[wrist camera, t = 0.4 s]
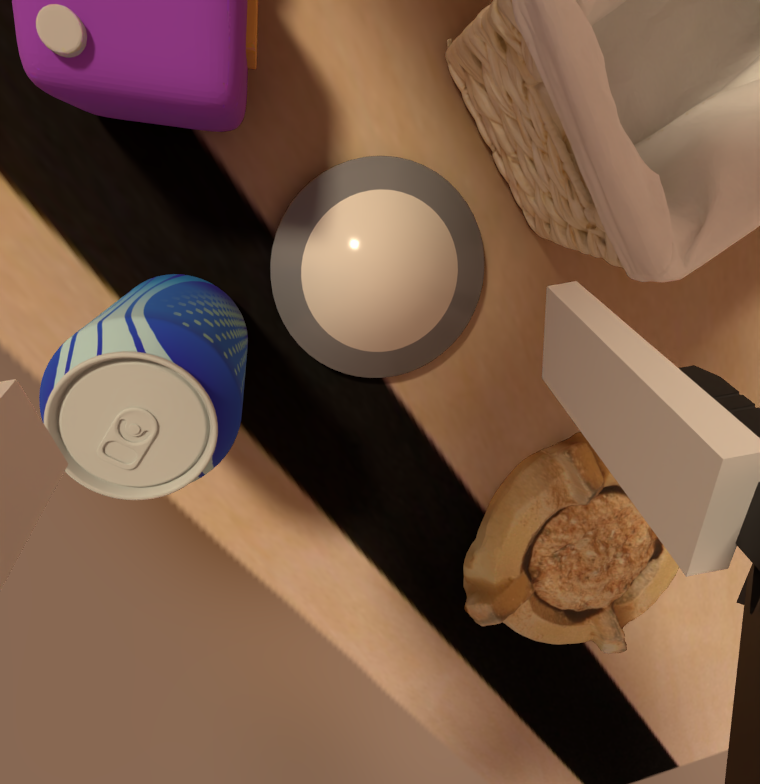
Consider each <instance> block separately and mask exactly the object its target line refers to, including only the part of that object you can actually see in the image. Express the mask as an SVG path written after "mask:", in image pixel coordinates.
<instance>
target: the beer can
mask: <svg viewBox="0 0 760 784" xmlns="http://www.w3.org/2000/svg"><path fill="white" fill-rule="evenodd" d="M247 347H248V335H247V329H246V325H245V321H244V319H243V316H242V314H241V312H240V311H239V309H238V307H237V306H236V304H235V303H234V302H233V301H232V299H231V298H230V297H229V296H228V295H227V294H226V293H224V292H223V291H222V290H221V289H219V288H218V287H216V286H215V285H213V284H211V283H209V282H207V281H205V280H203V279H200V278H197V277H193V276H189V275H180V274H171V275H163V276H158V277H154V278H152V279H149V280H147V281H145V282H143V283H141V284H139V285H138V286H136V287H135V288H134V289H132V290H131V291H130V292H128V293H127V294H126V295H125V296H123V297H122V298H121V299H119V300H118V301H117V302H116V303H114V304H113V305H112V306H110V307H109V308H108V309H106V310H105V311H104V312H103V313H101V314H100V315H99V316H97V317H96V318H95V319H93V320H92V321H91V322H90V323H88V324H87V325H86V326H84V327H83V328H82V329H80V330H79V331H78V332H77V333H75V334H74V335H73V336H71V337H70V338H69V339H68V340H67V341H66V342H64V343H63V344H62V345H61V346H60V348H59V349H58V350H57V351H56V353H55V354H54V355H53V357H52V359H51V360H50V362H49V363H48V366H47V368H46V370H45V372H44V375H43V378H42V382H41V387H40V397H39V398H40V412H41V417H42V421H43V423H44V425H45V427H46V428H47V430H48V431H49V433H50V435H51V436H52V438H53V440H54V441H55V443H56V444H57V446H58V448H59V449H60V451H61V453H62V454H63V456H64V458H65V459H66V461H67V462H68V466H67V468H66V470H65V472H66V473H67V474H68V475H69V476H70V477H72V478H73V479H74V480H75V481H77V482H78V483H80V484H81V485H83V486H85V487H86V488H88V489H90V490H92V491H94V492H97V493H100V494H102V495H105V496H109V497H113V498H118V499H125V500H146V499H153V498H158V497H162V496H165V495H168V494H171V493H173V492H176V491H178V490H180V489H181V488H183V487H185V486H186V485H188V484H189V483H191V482H193V481H195V480H197V479H199V478H201V477H202V476H204V475H205V474H207V473H208V472H209V471H211V470H212V469H213V468H214V467H215V466H217V465H218V464H219V463H220V462H221V460H222V459H223V458H224V457H225V456H226V454H227V453H228V452H229V450H230V448H231V447H232V445H233V443H234V441H235V439H236V436H237V434H238V431H239V427H240V423H241V417H242V405H243V394H244V382H245V370H246V359H247Z"/></svg>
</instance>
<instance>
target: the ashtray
mask: <svg viewBox="0 0 760 784" xmlns="http://www.w3.org/2000/svg"><path fill="white" fill-rule="evenodd" d="M678 569H679V566H678V565H677V563H676V562H675V560H674V559H673V558H672V556H671V555H670V554H669V552H668V551H667V549H666V548H665V547H664V545H663V544H662V543H661V541H660V540H659V538H658V537H657V536H656V534H655V533H654V532H653V530H652V529H651V527H650V526H649V525H648V523H647V522H646V521H645V519H644V518H643V516H642V515H641V514H640V512H639V511H638V510H637V508H636V507H635V505H634V504H633V503H632V501H631V500H630V499H629V497H628V496H627V494H626V493H625V492H624V490H623V489H622V488H621V486H620V485H619V483H618V482H617V481H616V479H615V478H614V477H613V475H612V474H611V472H610V471H609V470H608V468H607V467H606V466H605V464H604V463H603V461H602V460H601V459H600V457H599V456H598V455H597V453H596V452H595V450H594V449H593V448H592V446H591V445H590V444H589V442H588V441H587V439H586V438H585V437H584V435H583V434H582V433H581V432H579V433H576V434H574V435H573V436H572V437H571V438H569V439H566V440H564V441H562V442H560V443H558V444H555V445H553V446H550V447H548V448H545V449H543V450H541V451H538V452H536V453H534V454H532V455H531V456H529V457H527V458H526V459H524V460H523V461H522V462H521V463H520V464H519V465H518V466H516V467H515V468H514V470H513V471H512V472H511V473H510V474H509V476H508V477H507V478H506V479H505V480H504V482H503V483H502V484H501V486H500V487H499V488H498V490H497V491H496V493H495V494H494V496H493V498H492V500H491V502H490V503H489V506H488V508H487V511H486V513H485V515H484V518H483V520H482V522H481V525H480V527H479V530H478V532H477V537H476V539H475V541H474V542H473V543H472V544H471V546H470V548H469V550H468V552H467V554H466V557H465V560H464V566H463V570H464V584H463V587H464V589H465V591H466V595H467V600H466V603H465V610H466V612H467V613H468V614H469V615H470V616H471V617H472V618H473V619H474V621H475V622H476V623H478V624H479V625H481V626H487V625H495V624H499V623H502V622H503V623H505V624H506V625H507V626H509V627H510V628H511V629H513V630H514V631H515V632H517V633H519V634H521V635H523V636H525V637H527V638H530V639H532V640H535V641H539V642H544V643H549V644H574V643H582V642H587V641H590V640H592V641H593V642H594V643H596V644H597V646H598V647H599V648H600V650H601V651H603V652H604V653H621V652H624V651H626V650H627V647H626V646H627V644H626V642H625V639H624V636H625V634H624V632H623V630H622V629H623V627H624V626H625V625H626V624H627V623H628V622H630V621H632V620H634V619H635V618H637V617H638V616H640V615H641V614H643V613H644V612H645V611H646V610H647V609H648V608H649V607H650V606H652V605H653V604H654V603H655V602H656V601H657V599H658V598H659V596H660V595H661V594H662V593H663V592H664V591H665V590H666V589H667V587H668V586H669V584H670V583H671V581H672V580H673V578H674V577H675V575H676V573H677V571H678Z"/></svg>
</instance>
